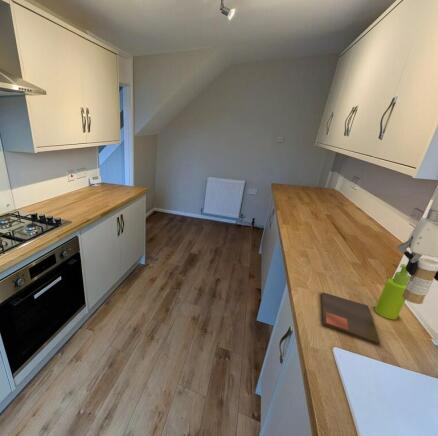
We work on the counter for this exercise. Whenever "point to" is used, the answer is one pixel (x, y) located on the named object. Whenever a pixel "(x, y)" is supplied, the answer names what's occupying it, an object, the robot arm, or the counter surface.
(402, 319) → the counter surface
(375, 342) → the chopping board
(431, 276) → the sprinkles bottle
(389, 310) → the soap dispenser
